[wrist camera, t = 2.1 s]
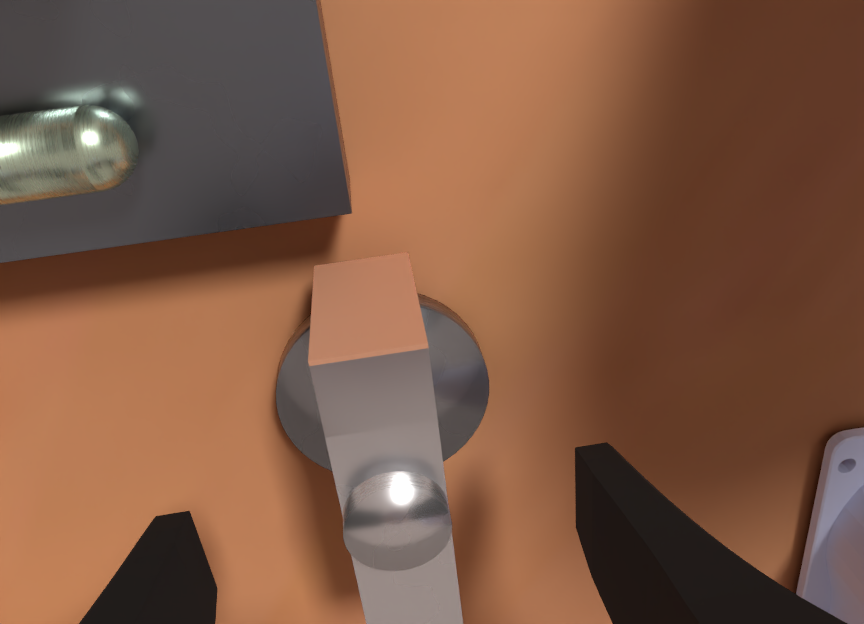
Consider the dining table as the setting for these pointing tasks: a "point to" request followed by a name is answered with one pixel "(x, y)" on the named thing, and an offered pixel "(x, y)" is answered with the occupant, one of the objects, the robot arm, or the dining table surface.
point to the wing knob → (386, 426)
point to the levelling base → (163, 121)
